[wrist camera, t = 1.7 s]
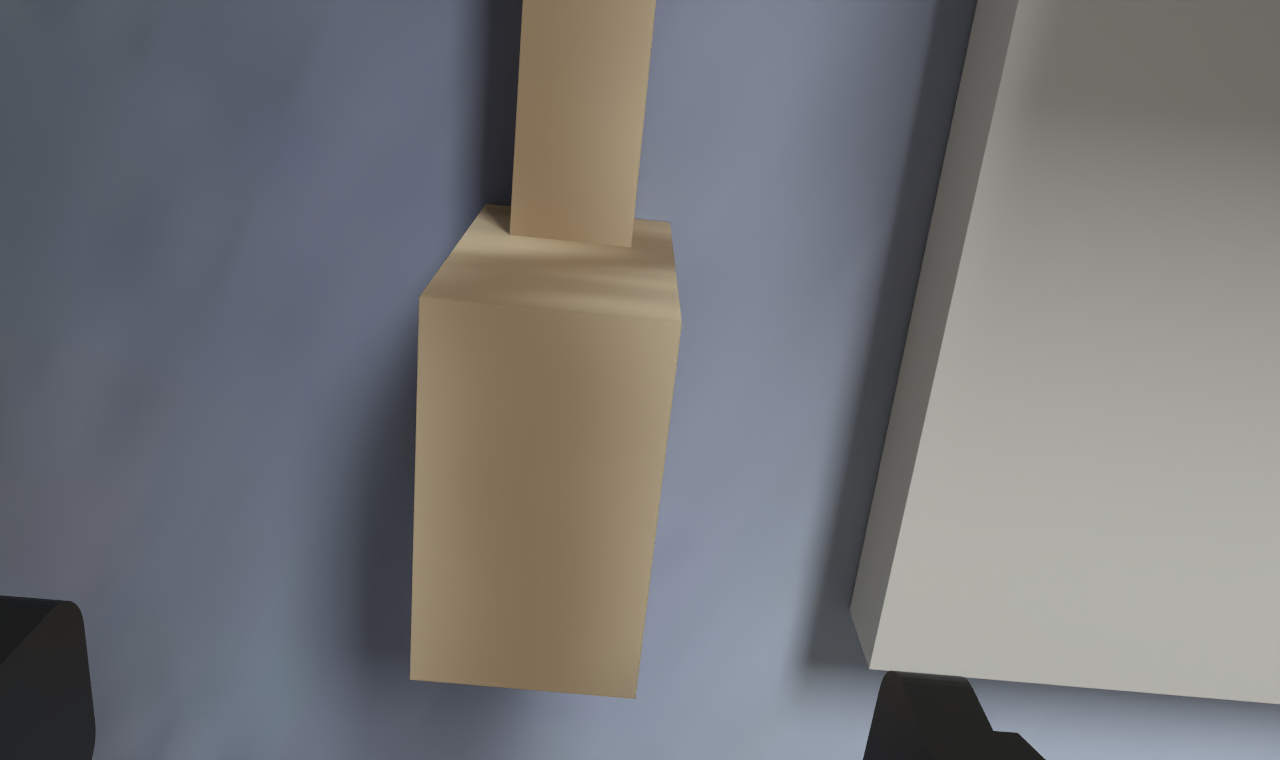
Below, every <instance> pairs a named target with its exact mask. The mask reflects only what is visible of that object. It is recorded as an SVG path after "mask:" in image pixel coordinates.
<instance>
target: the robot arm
mask: <svg viewBox="0 0 1280 760" xmlns="http://www.w3.org/2000/svg"><path fill="white" fill-rule="evenodd" d="M95 732H96V730H95V718H94V709H93V700H92V691H91V682H90V674H89V665H88V656H87V647H86V639H85V630H84V622H83V617H82V614H81V611H80V609H79V607H78V606H77V605H76V604H75V603H73V602H71V601H62V600H50V599H38V598H25V597H13V596H1V595H0V760H92V756H93V751H94V745H95ZM863 760H1045V759H1044V758H1043V757H1042V756H1041V755H1040V754H1039V753H1038V752H1037V751H1036V750H1035V749H1034V748H1033V747H1032V746H1031V745H1030V744H1029V743H1028V742H1026V741H1025V740H1024V739H1023V738H1022V737H1021V736H1020V735H1019V734H1018V733H1012V732H999V731H993V729H992V727H991V725H990V723H989V721H988V719H987V717H986V715H985V713H984V711H983V709H982V707H981V705H980V703H979V701H978V699H977V696H976V694H975V692H974V690H973V688H972V686H971V685H970V683H969V682H968V680H967V679H966V678H964V677H962V676H952V675H940V674H927V673H915V672H903V671H889V672H887V673H886V674H885V676H884V678H883V680H882V683H881V686H880V689H879V693H878V698H877V702H876V706H875V711H874V715H873V719H872V723H871V728H870V732H869V736H868V741H867V745H866V749H865V754H864V758H863Z"/></svg>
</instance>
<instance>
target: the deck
mask: <svg viewBox="0 0 1280 760" xmlns="http://www.w3.org/2000/svg"><path fill="white" fill-rule="evenodd" d="M849 611H850V614H851V617H852V620H853V623H854V626H855V629H856V632H857V634H858V637H859V640H860V643H861V646H862V649H863V652H864V655H865V658H866V661H867V664H868V667H869V669H874V670H886V671H903V672H915V673H927V674H940V675H952V676H962V677H967V678H979V679H991V680H1003V681H1014V682H1026V683H1038V684H1049V685H1061V686H1073V687H1084V688H1096V689H1108V690H1119V691H1131V692H1143V693H1154V694H1166V695H1178V696H1190V697H1201V698H1213V699H1225V700H1236V701H1248V702H1260V703H1271V704H1280V0H977V5H976V10H975V15H974V19H973V24H972V29H971V34H970V38H969V43H968V48H967V53H966V57H965V62H964V67H963V72H962V77H961V81H960V86H959V91H958V96H957V100H956V105H955V110H954V115H953V119H952V124H951V129H950V134H949V139H948V143H947V148H946V153H945V158H944V162H943V167H942V172H941V177H940V181H939V186H938V191H937V196H936V200H935V205H934V210H933V215H932V220H931V224H930V229H929V234H928V239H927V243H926V248H925V253H924V258H923V262H922V267H921V272H920V277H919V282H918V286H917V291H916V296H915V301H914V305H913V310H912V315H911V320H910V324H909V329H908V334H907V339H906V343H905V348H904V353H903V358H902V363H901V367H900V372H899V377H898V382H897V386H896V391H895V396H894V401H893V405H892V410H891V415H890V420H889V425H888V429H887V434H886V439H885V444H884V448H883V453H882V458H881V463H880V467H879V472H878V477H877V482H876V486H875V491H874V496H873V501H872V506H871V510H870V515H869V520H868V525H867V529H866V534H865V539H864V544H863V548H862V553H861V558H860V563H859V567H858V572H857V577H856V582H855V587H854V591H853V596H852V601H851V606H850V610H849Z"/></svg>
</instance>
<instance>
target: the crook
mask: <svg viewBox="0 0 1280 760" xmlns="http://www.w3.org/2000/svg"><path fill="white" fill-rule="evenodd" d="M655 6H656V0H523V7H522V25H521V43H520V60H519V78H518V95H517V113H516V131H515V148H514V166H513V184H512V201H511V206H504V205H494V204H486V205H485V206H484V207H483V209H482V210H481V212H480V213H479V214H478V216H477V217H476V219H475V220H474V221H473V223H472V224H471V226H470V227H469V228H468V230H467V231H466V233H465V234H464V235H463V237H462V238H461V240H460V241H459V242H458V244H457V245H456V247H455V248H454V249H453V251H452V252H451V254H450V255H449V256H448V258H447V259H446V261H445V262H444V263H443V265H442V266H441V268H440V269H439V270H438V272H437V273H436V275H435V276H434V277H433V279H432V280H431V282H430V283H429V284H428V286H427V287H426V289H425V290H424V291H423V293H422V294H421V296H420V297H419V328H418V369H417V411H416V452H415V493H414V535H413V576H412V617H411V659H410V680H420V681H432V682H444V683H456V684H467V685H479V686H491V687H503V688H515V689H526V690H538V691H550V692H562V693H573V694H585V695H597V696H609V697H621V698H632V699H635V698H636V690H637V682H638V674H639V665H640V657H641V649H642V641H643V633H644V625H645V617H646V609H647V601H648V593H649V585H650V576H651V568H652V560H653V552H654V544H655V536H656V528H657V520H658V512H659V504H660V495H661V487H662V479H663V471H664V463H665V455H666V447H667V439H668V431H669V423H670V415H671V406H672V398H673V390H674V382H675V374H676V366H677V358H678V350H679V342H680V334H681V326H682V321H681V312H680V304H679V295H678V287H677V279H676V270H675V262H674V253H673V245H672V236H671V228H670V222H661V221H652V220H642V219H634V213H635V203H636V193H637V183H638V174H639V164H640V154H641V144H642V134H643V124H644V114H645V105H646V95H647V85H648V75H649V65H650V55H651V46H652V36H653V26H654V16H655Z"/></svg>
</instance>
